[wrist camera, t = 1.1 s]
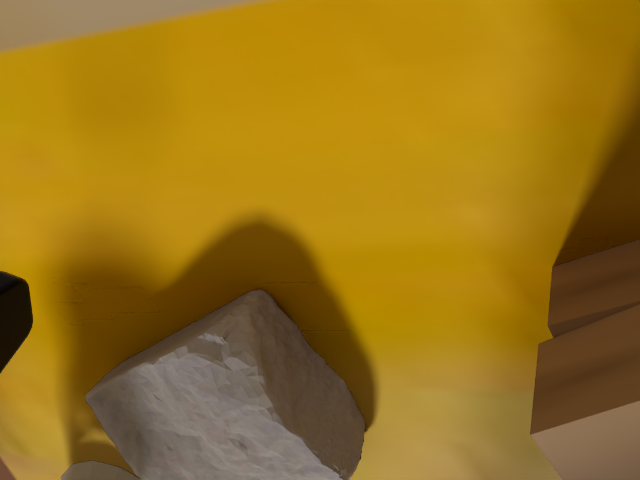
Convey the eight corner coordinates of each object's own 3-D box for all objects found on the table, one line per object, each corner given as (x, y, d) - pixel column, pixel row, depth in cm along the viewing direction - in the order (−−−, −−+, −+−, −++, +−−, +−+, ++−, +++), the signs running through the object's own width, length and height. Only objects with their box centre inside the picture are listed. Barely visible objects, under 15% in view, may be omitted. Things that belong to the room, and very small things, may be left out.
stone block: (399, 409, 29) (256, 262, 26) (381, 502, 25) (210, 342, 22) (237, 464, 35) (107, 352, 32) (202, 544, 32) (52, 425, 29)
